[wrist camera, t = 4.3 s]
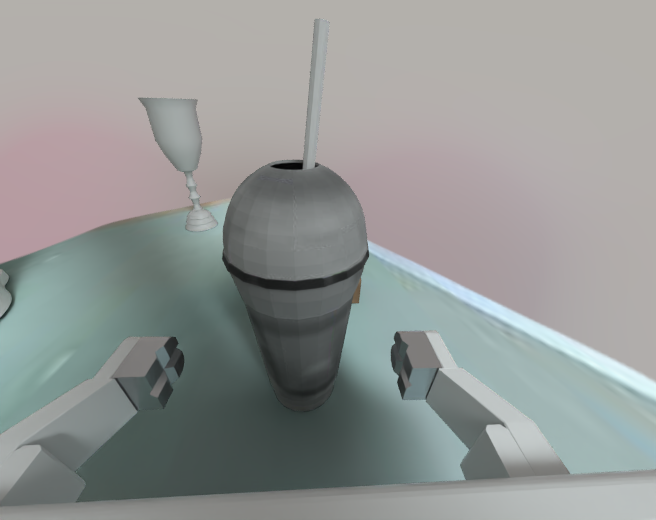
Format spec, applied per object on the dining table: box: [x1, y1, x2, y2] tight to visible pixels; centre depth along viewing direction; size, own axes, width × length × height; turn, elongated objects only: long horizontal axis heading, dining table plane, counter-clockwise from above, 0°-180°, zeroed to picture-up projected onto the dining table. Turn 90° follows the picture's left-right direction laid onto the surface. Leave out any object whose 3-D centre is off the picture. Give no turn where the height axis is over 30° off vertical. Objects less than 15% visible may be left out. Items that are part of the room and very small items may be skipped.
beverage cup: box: [222, 19, 369, 412], centre depth 14 cm, size 7×7×20 cm
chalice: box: [138, 98, 218, 231], centre depth 38 cm, size 7×7×18 cm
